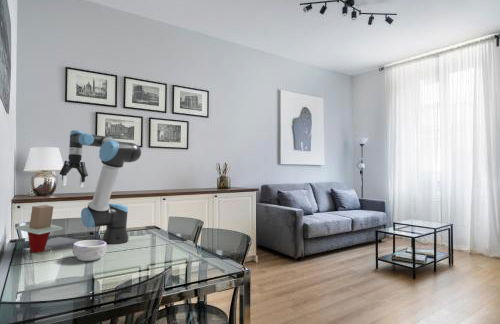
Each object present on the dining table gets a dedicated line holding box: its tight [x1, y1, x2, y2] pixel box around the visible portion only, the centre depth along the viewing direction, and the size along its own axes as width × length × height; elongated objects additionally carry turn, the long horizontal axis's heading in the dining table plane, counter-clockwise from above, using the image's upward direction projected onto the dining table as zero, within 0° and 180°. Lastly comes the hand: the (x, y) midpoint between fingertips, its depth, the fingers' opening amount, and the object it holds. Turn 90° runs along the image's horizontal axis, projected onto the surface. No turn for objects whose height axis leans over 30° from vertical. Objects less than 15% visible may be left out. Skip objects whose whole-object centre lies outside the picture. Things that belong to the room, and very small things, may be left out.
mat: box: [45, 236, 84, 249], centre depth 180 cm, size 20×20×1 cm
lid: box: [14, 204, 64, 234], centre depth 162 cm, size 15×15×12 cm
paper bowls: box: [72, 239, 108, 262], centre depth 157 cm, size 15×15×8 cm
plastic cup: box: [27, 232, 51, 253], centre depth 162 cm, size 11×11×12 cm
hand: (72, 186), depth 202 cm, fingers open, 13 cm apart
